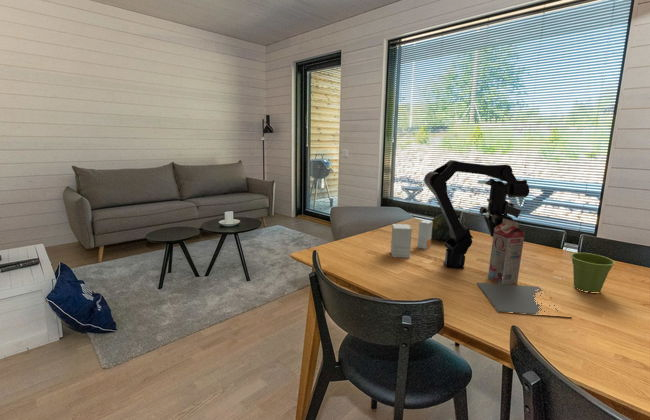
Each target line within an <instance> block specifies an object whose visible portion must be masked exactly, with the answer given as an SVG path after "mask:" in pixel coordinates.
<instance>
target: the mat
mask: <svg viewBox="0 0 650 420" xmlns="http://www.w3.org/2000/svg"><path fill="white" fill-rule="evenodd" d="M477 284H478V285H477ZM476 285H477V287H478V288H479V289H480V288H481V289H482V290H481V289H480V290H481V292H482V291H483V292H484V293H485V294H484V293H483V292H482V293H483V294H484V296H485V295H486V296H487V297H488V298H487V297H486V296H485V297H486V298H487V300H488V299H489V300H490V301H489V300H488V301H489V303H490V304H491V303H492V304H493V305H494V307H495V308H496V309H495V308H494V307H493V308H494V309H495V311H496V310H497V311H498V312H497V311H496V312H497V313H499V312H513V313H526V314H536V313H537V312H538V311H539V310H540V309H541V308H540V307H539V306H540V305H539V304H537V305H536V302H535V301H536V300H535V299H534V298H535V297H536V296H535V295H536V294H535V293H537V292H540V291H542V290H543V289H542V290H541V287H540V286H535V285H523V284H522V285H519V284H509V285H508V284H498V283H491V282H476ZM537 289H539V290H538V291H535V290H537ZM544 293H546V292H545V291H544ZM541 294H542V293H541ZM533 295H534V296H535V297H534V296H533ZM540 296H541V295H540ZM534 300H535V301H534ZM537 303H538V302H537ZM492 304H491V305H492ZM541 304H542V303H541ZM493 305H492V306H493ZM541 306H542V305H541ZM549 306H550V305H549ZM554 306H555V305H554ZM538 307H539V308H540V309H539V308H538ZM555 309H556V308H555ZM541 310H542V309H541ZM541 310H540V311H541ZM556 310H557V309H556ZM557 311H558V310H557ZM544 312H545V311H544ZM538 313H539V312H538ZM538 313H537V314H538Z"/></svg>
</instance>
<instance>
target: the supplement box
mask: <svg viewBox="0 0 650 420" xmlns="http://www.w3.org/2000/svg"><path fill="white" fill-rule="evenodd" d="M412 231H413V229H412V227H411V225H410V224H406V223H405V224H401V223H399V224H398V223H396V224H395V223H392V228H391V243H390V244H391V245H390V253H391V257H392V258H404V259H405V258H407V259H409V258H411V244H412V233H413V232H412Z"/></svg>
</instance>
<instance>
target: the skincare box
mask: <svg viewBox="0 0 650 420" xmlns="http://www.w3.org/2000/svg"><path fill="white" fill-rule="evenodd" d="M432 226H433V221H432V220H428V219H423V220H421V221H419V224H418V234H417V243H416V244H417V245H416V247H417V248H419V249H424V250H426V249H428V248H430V247H431V245H432V244H431V243H432V237H431V236H432Z"/></svg>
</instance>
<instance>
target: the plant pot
mask: <svg viewBox="0 0 650 420" xmlns="http://www.w3.org/2000/svg"><path fill="white" fill-rule="evenodd" d="M570 258H571V259H572V260H571V261H572V262H571V263H572V268H573V269H572V270H573V271H572V272H573V275H572V276H573V287H574V286H575V287H576V288H578V289H580V290H583V291H588V292H600V293H601V292H602V289H603V286H604V284H605V282H606V280H607V277H608V275H609V273H610V271H611V269H612V267H613V266H615V265H616V262H615V260H613V259H611V258H609V257H606V256H604V255H600V254H594V253H590V252H572V253H571V254H570ZM575 287H574V288H575ZM576 288H575V289H576Z"/></svg>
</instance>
